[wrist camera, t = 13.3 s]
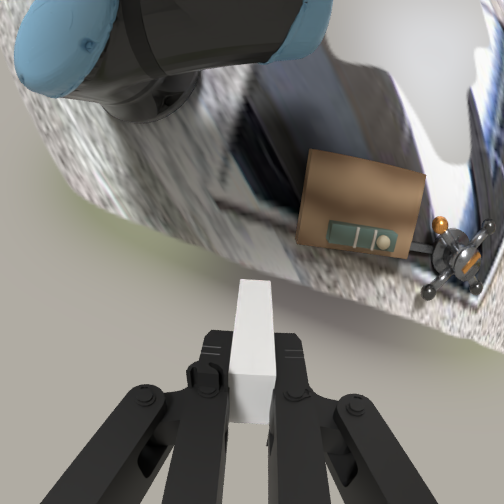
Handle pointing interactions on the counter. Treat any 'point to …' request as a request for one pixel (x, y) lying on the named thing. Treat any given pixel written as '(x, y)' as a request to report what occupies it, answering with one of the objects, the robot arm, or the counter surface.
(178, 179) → the counter surface
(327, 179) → the stand
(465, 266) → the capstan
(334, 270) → the counter surface
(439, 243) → the cam foot
